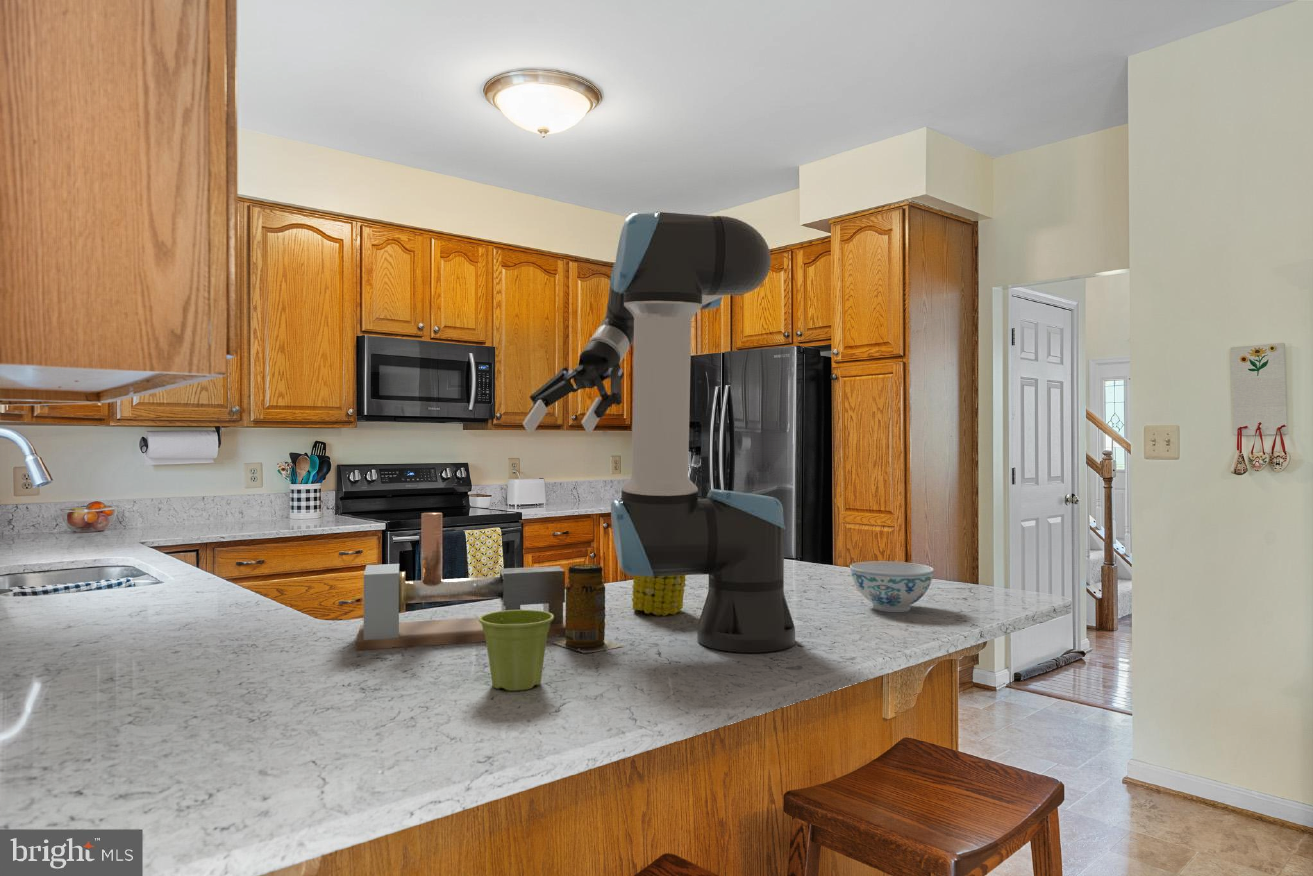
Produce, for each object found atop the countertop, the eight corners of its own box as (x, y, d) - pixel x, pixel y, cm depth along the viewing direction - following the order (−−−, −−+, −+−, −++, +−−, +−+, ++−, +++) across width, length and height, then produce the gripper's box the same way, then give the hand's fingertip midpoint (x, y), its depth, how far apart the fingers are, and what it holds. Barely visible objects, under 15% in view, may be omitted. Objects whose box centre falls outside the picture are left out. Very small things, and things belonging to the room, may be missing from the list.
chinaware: (880, 597, 161) (880, 559, 161) (949, 609, 149) (949, 567, 149) (833, 607, 151) (833, 566, 151) (904, 621, 140) (904, 576, 140)
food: (631, 615, 151) (684, 618, 151) (630, 614, 140) (688, 617, 140) (635, 534, 155) (687, 537, 155) (634, 526, 143) (691, 529, 143)
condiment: (591, 636, 128) (591, 561, 128) (623, 647, 122) (623, 567, 122) (552, 644, 124) (552, 565, 124) (583, 655, 117) (583, 572, 117)
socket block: (399, 623, 132) (399, 563, 132) (398, 637, 122) (398, 573, 122) (366, 625, 130) (366, 565, 130) (363, 640, 121) (363, 574, 121)
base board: (558, 619, 141) (558, 612, 141) (572, 635, 129) (572, 627, 129) (360, 632, 131) (360, 624, 131) (355, 650, 120) (356, 642, 120)
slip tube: (508, 602, 135) (508, 510, 135) (513, 609, 129) (513, 513, 129) (379, 609, 129) (379, 513, 129) (378, 618, 123) (378, 516, 123)
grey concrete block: (559, 616, 137) (559, 566, 137) (564, 623, 132) (565, 570, 132) (499, 620, 134) (499, 568, 134) (503, 627, 129) (503, 573, 129)
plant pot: (473, 678, 105) (473, 611, 106) (544, 671, 109) (544, 606, 109) (484, 699, 97) (484, 627, 97) (561, 691, 100) (561, 621, 100)
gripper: (664, 365, 155) (620, 442, 142) (562, 371, 168) (513, 442, 156) (649, 334, 151) (603, 411, 138) (546, 343, 164) (494, 414, 151)
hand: (555, 428), depth 147 cm, fingers open, 13 cm apart
